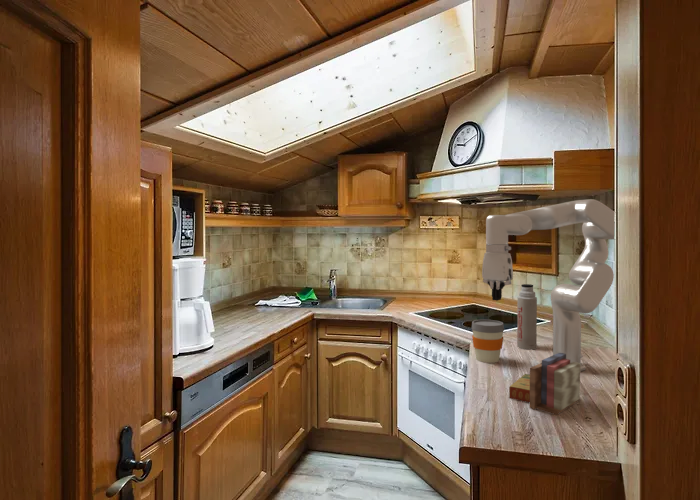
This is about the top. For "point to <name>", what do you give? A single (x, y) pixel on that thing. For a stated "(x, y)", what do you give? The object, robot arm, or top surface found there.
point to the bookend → (554, 384)
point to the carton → (521, 389)
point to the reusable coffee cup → (487, 340)
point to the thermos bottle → (527, 318)
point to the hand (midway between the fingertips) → (496, 299)
